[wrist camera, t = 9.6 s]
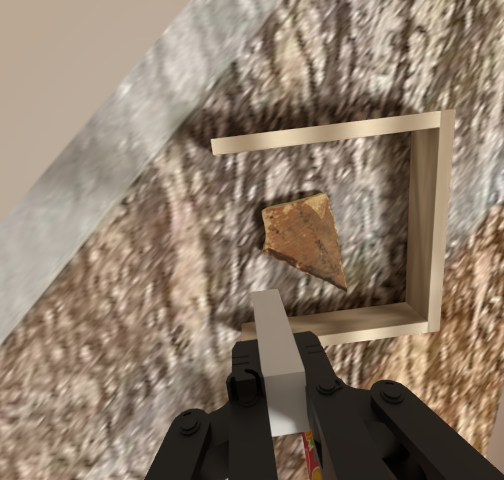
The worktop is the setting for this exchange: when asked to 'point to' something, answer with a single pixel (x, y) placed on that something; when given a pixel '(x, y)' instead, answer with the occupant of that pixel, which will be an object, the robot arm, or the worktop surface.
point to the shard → (305, 238)
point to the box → (419, 225)
